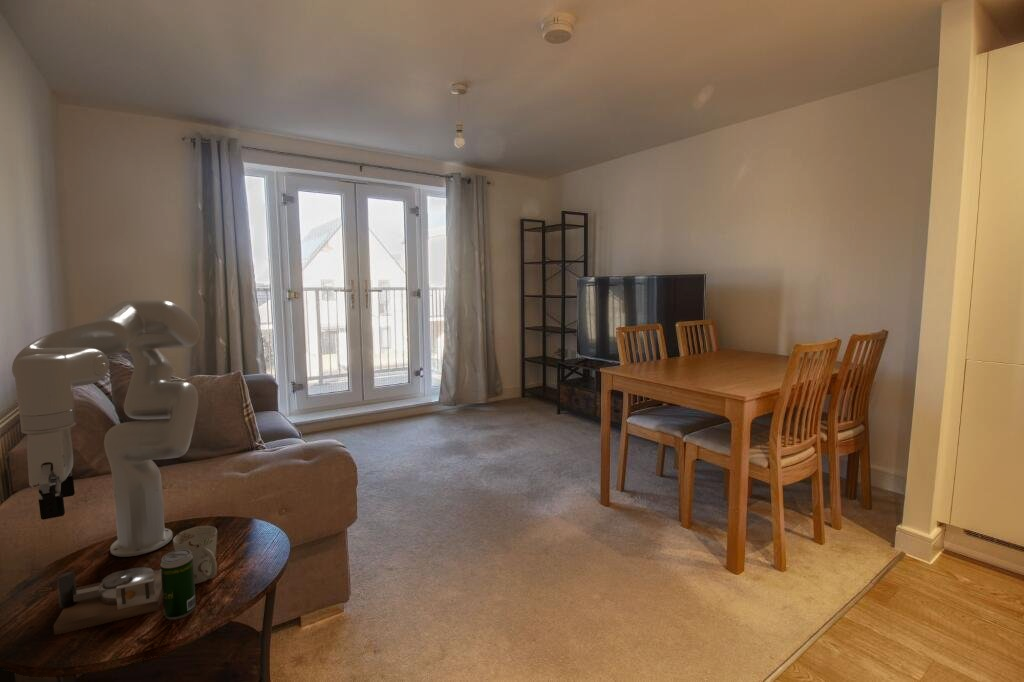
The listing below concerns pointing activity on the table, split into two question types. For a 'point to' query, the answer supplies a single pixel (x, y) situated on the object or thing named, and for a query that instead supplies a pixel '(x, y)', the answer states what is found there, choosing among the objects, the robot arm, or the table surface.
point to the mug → (200, 550)
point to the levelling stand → (129, 604)
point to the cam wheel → (105, 590)
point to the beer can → (178, 584)
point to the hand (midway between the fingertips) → (58, 506)
